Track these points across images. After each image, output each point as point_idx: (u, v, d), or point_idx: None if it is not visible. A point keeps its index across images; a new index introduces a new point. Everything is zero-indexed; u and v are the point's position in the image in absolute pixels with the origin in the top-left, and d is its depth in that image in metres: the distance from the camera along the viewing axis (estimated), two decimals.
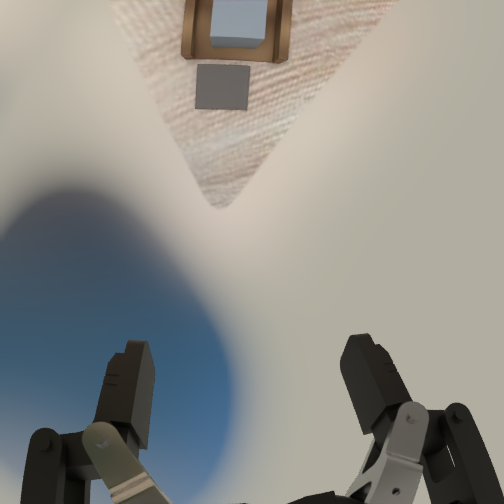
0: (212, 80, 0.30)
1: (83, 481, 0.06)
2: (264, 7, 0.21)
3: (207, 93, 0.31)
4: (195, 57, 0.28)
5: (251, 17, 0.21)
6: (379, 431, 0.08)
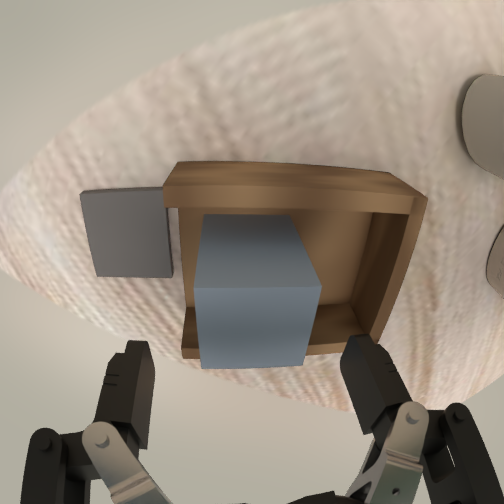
0: (134, 219, 0.17)
1: (83, 481, 0.06)
2: (273, 364, 0.14)
3: (109, 213, 0.17)
4: None
5: (248, 350, 0.13)
6: (379, 431, 0.08)
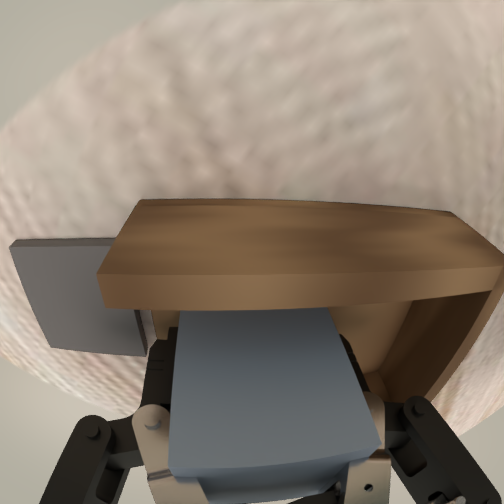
0: (84, 285, 0.11)
1: (121, 472, 0.07)
2: (290, 497, 0.08)
3: (49, 274, 0.10)
4: None
5: (257, 496, 0.07)
6: None
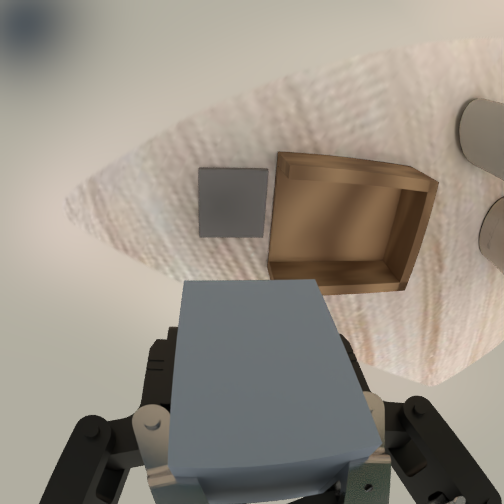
0: (242, 191, 0.24)
1: (121, 471, 0.07)
2: (290, 497, 0.08)
3: (222, 185, 0.24)
4: (279, 167, 0.23)
5: (257, 495, 0.07)
6: None
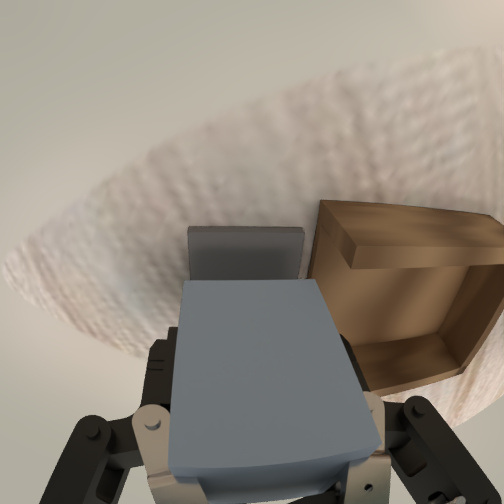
0: (260, 265, 0.15)
1: (121, 471, 0.07)
2: (290, 497, 0.08)
3: (228, 257, 0.15)
4: (323, 227, 0.14)
5: (257, 496, 0.07)
6: None
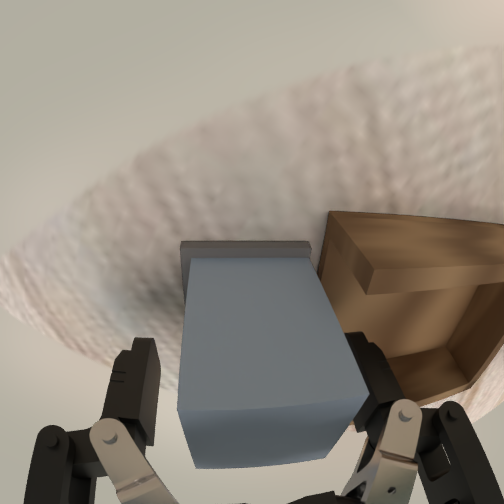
0: None
1: (89, 479, 0.06)
2: (289, 461, 0.09)
3: None
4: (331, 242, 0.13)
5: (256, 456, 0.09)
6: (372, 428, 0.09)
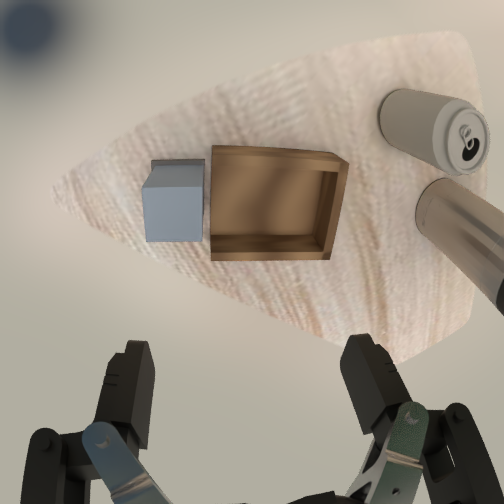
0: None
1: (83, 481, 0.06)
2: (185, 239, 0.26)
3: None
4: None
5: (169, 227, 0.25)
6: (379, 431, 0.08)
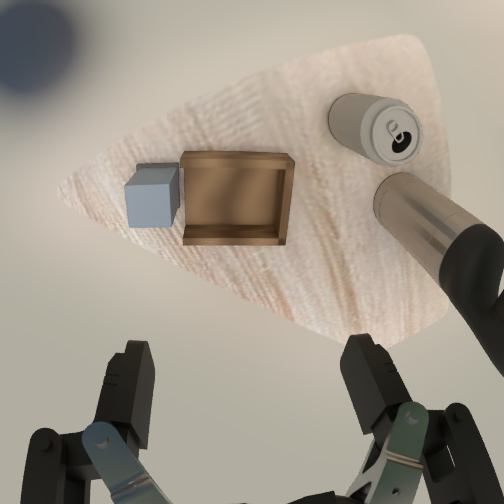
0: None
1: (83, 481, 0.06)
2: (158, 225, 0.32)
3: None
4: None
5: (146, 216, 0.32)
6: (379, 431, 0.08)
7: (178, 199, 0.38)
